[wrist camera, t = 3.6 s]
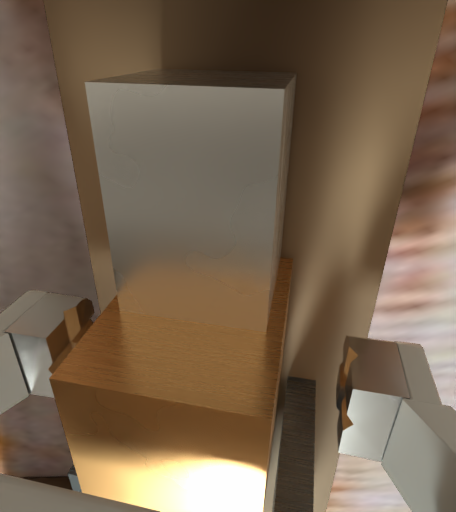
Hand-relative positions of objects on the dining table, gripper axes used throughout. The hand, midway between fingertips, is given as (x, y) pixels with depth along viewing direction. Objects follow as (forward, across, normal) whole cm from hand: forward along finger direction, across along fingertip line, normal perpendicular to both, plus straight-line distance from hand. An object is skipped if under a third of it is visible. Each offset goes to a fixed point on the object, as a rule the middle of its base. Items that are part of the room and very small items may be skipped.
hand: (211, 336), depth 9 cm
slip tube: (+1, 0, +1) cm, 2 cm away
